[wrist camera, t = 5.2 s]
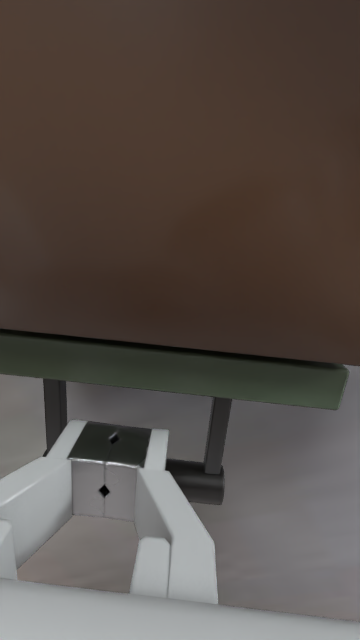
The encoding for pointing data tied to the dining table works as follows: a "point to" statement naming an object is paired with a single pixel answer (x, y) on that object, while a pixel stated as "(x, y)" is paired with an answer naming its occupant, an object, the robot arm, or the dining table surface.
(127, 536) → the dining table surface
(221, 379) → the drawer
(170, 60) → the cabinet
